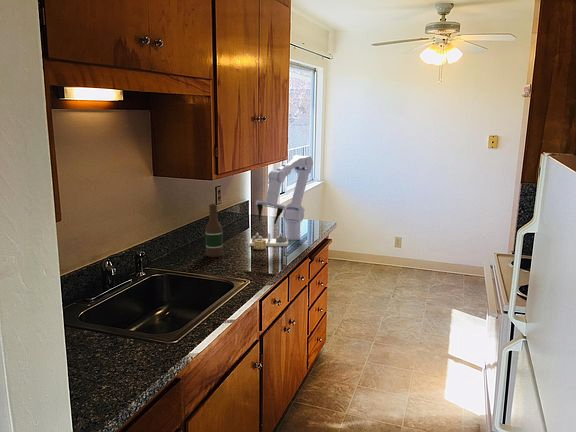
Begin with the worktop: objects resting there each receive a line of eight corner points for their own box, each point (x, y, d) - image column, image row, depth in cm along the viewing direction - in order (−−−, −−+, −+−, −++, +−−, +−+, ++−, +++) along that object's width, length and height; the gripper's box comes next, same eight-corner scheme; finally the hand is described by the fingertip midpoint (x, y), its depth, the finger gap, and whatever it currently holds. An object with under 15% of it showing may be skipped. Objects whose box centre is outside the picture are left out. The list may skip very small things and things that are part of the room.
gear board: (251, 241, 248) (251, 231, 247) (288, 241, 248) (288, 231, 247) (249, 246, 240) (249, 235, 239) (287, 246, 239) (287, 235, 238)
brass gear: (254, 246, 239) (254, 238, 238) (266, 246, 239) (266, 238, 238) (253, 249, 233) (253, 241, 233) (265, 249, 233) (265, 241, 232)
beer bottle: (226, 254, 225) (225, 204, 220) (213, 258, 219) (211, 206, 214) (215, 251, 230) (214, 202, 225) (202, 255, 224) (200, 204, 219)
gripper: (257, 190, 229) (251, 217, 228) (287, 196, 229) (281, 224, 227) (258, 192, 236) (252, 219, 235) (287, 198, 236) (281, 225, 234)
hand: (267, 222), depth 232 cm, fingers open, 7 cm apart
